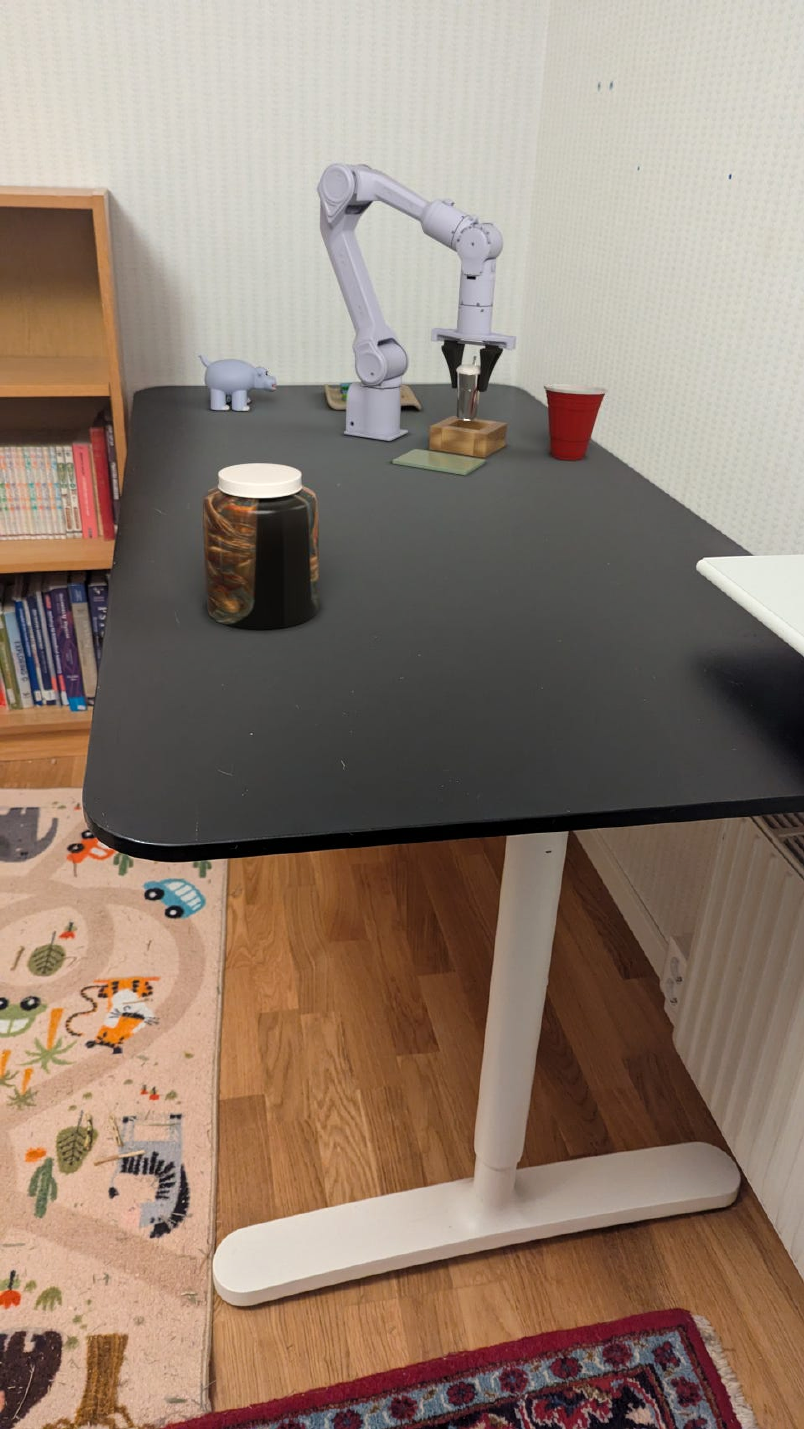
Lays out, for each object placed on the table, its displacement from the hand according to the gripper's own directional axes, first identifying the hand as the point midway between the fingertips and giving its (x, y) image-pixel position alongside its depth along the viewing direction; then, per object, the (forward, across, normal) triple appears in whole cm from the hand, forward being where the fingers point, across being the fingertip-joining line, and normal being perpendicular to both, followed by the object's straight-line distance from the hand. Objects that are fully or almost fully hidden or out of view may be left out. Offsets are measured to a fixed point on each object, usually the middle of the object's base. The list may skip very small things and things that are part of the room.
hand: (469, 389), depth 174 cm
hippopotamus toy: (+10, +51, -7) cm, 52 cm away
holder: (+10, 0, -1) cm, 10 cm away
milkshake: (+5, 0, 0) cm, 5 cm away
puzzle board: (+10, +31, -26) cm, 41 cm away
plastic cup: (+10, -17, -6) cm, 21 cm away
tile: (+10, 0, +12) cm, 16 cm away
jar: (+10, -8, +80) cm, 81 cm away
